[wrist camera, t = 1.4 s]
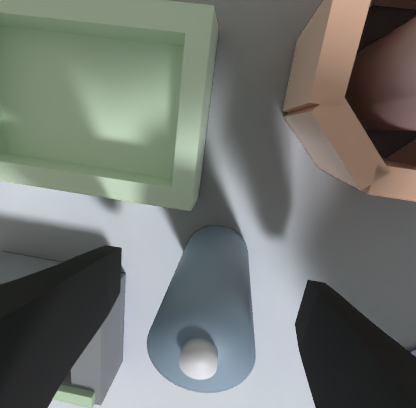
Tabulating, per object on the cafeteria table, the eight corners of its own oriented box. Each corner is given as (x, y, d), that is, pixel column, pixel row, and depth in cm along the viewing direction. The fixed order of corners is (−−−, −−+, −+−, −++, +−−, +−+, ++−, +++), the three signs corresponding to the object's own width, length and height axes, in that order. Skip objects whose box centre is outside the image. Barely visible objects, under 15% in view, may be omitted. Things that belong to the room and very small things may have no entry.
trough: (219, 29, 10) (214, 5, 8) (198, 197, 12) (190, 211, 10) (-18, 3, 10) (-77, -25, 8) (1, 166, 12) (-42, 173, 10)
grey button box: (125, 273, 13) (96, 311, 11) (122, 361, 15) (97, 411, 12) (0, 251, 14) (-58, 281, 11) (12, 338, 16) (-35, 382, 13)
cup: (518, -11, 8) (757, -128, 4) (436, 186, 10) (552, 222, 6) (311, -30, 9) (367, -150, 5) (271, 162, 11) (290, 183, 7)
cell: (253, 230, 12) (267, 330, 6) (242, 285, 13) (245, 417, 7) (189, 220, 12) (144, 307, 6) (183, 275, 13) (139, 394, 7)
